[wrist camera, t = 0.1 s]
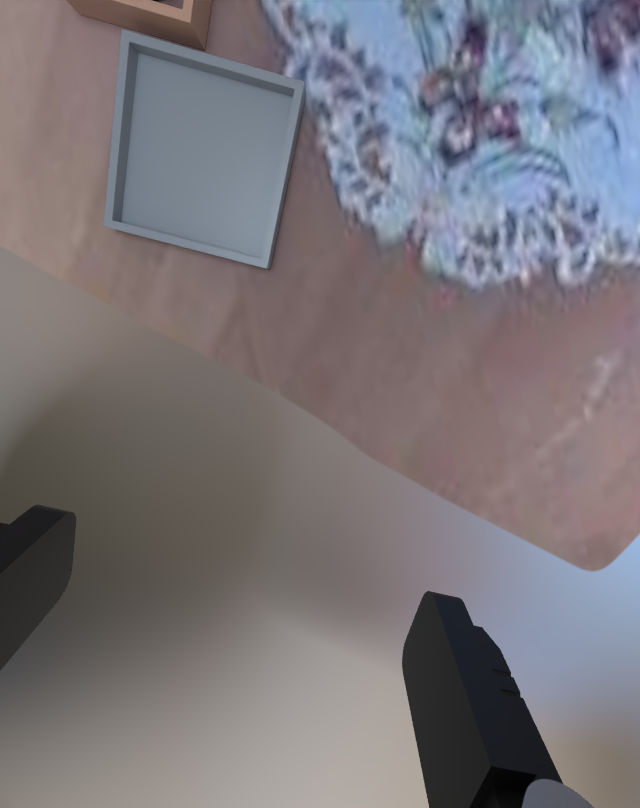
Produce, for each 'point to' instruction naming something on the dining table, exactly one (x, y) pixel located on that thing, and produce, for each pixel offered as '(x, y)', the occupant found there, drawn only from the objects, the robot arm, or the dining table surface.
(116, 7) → the holder
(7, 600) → the robot arm
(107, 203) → the tray
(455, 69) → the dining table surface
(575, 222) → the dining table surface
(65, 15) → the dining table surface
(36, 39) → the dining table surface
